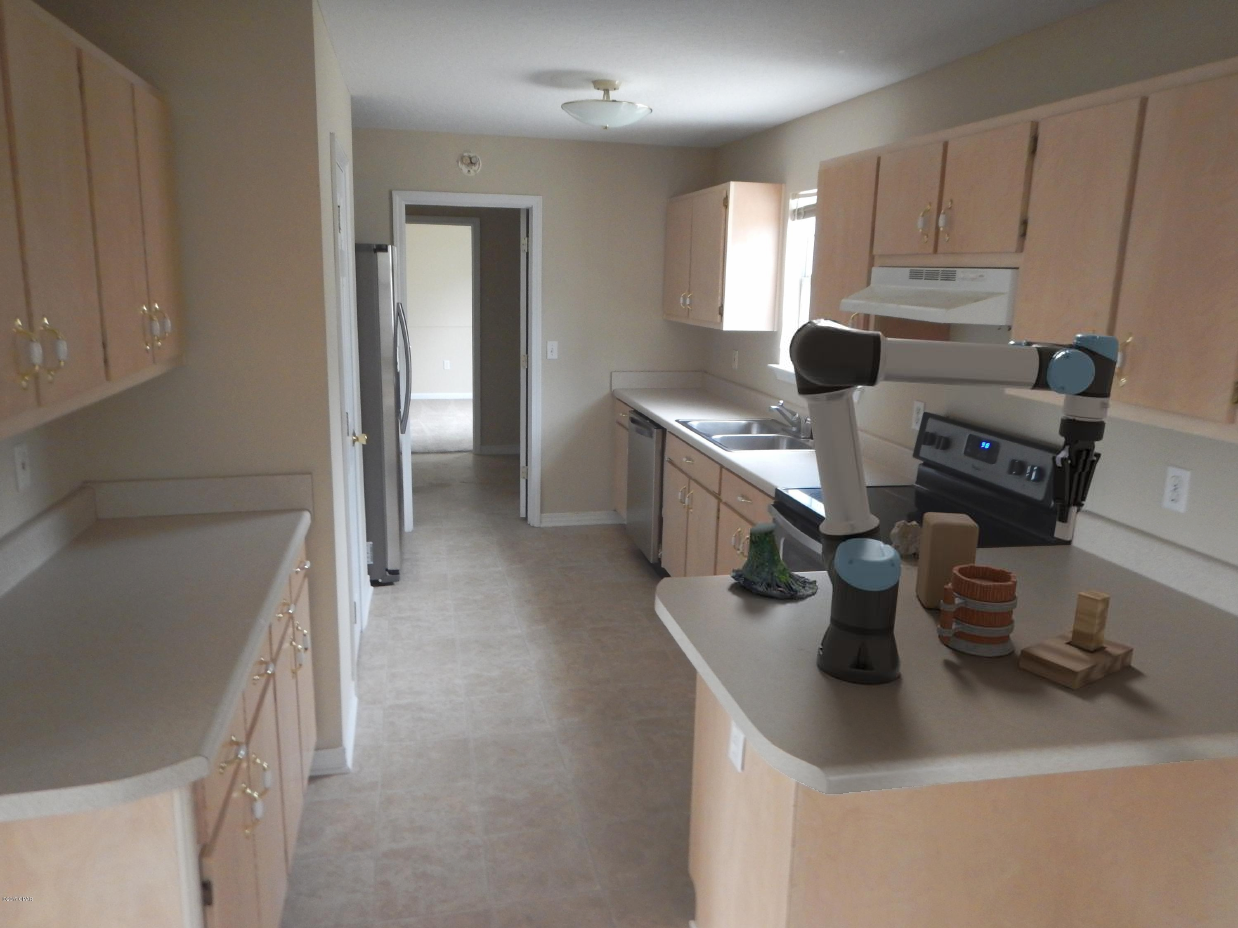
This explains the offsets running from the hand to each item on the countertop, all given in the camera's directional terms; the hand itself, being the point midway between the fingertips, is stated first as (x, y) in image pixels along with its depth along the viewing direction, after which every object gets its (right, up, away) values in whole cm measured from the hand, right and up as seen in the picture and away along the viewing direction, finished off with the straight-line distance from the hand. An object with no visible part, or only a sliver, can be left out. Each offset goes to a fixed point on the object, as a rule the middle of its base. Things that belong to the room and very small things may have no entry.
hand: (1062, 537), depth 172 cm
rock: (-8, -10, +63) cm, 64 cm away
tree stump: (-49, -15, +37) cm, 63 cm away
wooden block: (-12, -17, +30) cm, 37 cm away
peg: (+5, -24, +1) cm, 25 cm away
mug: (-16, -23, +7) cm, 28 cm away
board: (+2, -25, -1) cm, 25 cm away
